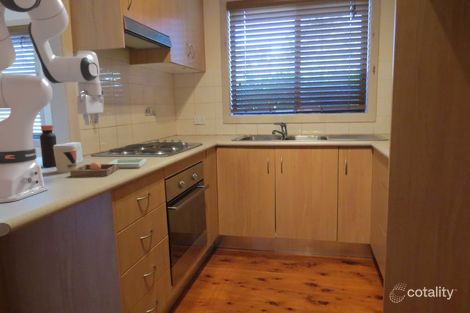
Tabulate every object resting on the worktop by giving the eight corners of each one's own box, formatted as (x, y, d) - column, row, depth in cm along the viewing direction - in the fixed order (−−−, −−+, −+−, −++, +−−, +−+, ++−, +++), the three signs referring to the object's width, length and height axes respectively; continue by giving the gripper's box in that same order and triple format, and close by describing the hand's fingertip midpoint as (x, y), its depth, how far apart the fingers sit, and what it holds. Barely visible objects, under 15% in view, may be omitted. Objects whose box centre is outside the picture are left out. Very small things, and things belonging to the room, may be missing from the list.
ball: (99, 172, 142) (98, 162, 141) (88, 172, 142) (88, 162, 141) (102, 170, 146) (102, 160, 145) (92, 170, 146) (91, 161, 145)
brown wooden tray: (107, 176, 137) (106, 170, 136) (70, 177, 136) (70, 171, 135) (118, 169, 152) (118, 163, 152) (85, 170, 151) (85, 164, 151)
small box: (74, 161, 176) (72, 142, 175) (83, 162, 175) (81, 142, 173) (62, 164, 168) (61, 143, 167) (72, 164, 167) (70, 143, 165)
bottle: (40, 166, 162) (36, 125, 159) (54, 164, 167) (50, 125, 164) (46, 168, 158) (42, 126, 155) (61, 166, 163) (57, 125, 160)
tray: (139, 168, 154) (139, 163, 154) (106, 168, 153) (106, 164, 153) (146, 162, 169) (146, 158, 169) (116, 163, 168) (116, 159, 168)
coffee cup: (69, 173, 144) (66, 146, 142) (50, 172, 146) (47, 145, 144) (82, 169, 153) (80, 143, 151) (65, 169, 155) (62, 143, 153)
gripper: (87, 90, 129) (90, 125, 131) (105, 92, 149) (107, 122, 151) (71, 90, 128) (74, 126, 131) (91, 92, 149) (93, 123, 151)
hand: (92, 124), depth 141 cm, fingers open, 8 cm apart
